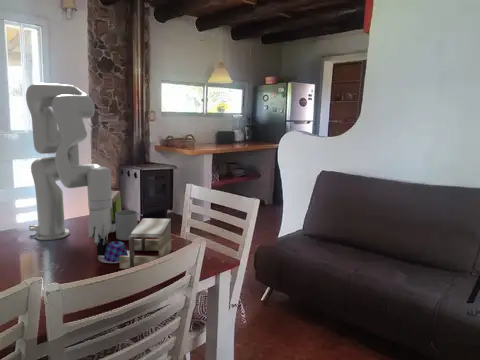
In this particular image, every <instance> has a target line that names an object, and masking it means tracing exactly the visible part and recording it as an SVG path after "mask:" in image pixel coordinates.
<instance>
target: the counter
mask: <svg viewBox="0 0 480 360" xmlns="http://www.w3.org/2000/svg"><path fill="white" fill-rule="evenodd" d="M171 221H172V219H171V218H152V217H151V218H150V217H149V218H146V217H145V218H142V219H141V221H140V222H139V223H138V225H137V227H136V228H135V229H134V230H133V231H132V233H131V236H129V240H128V248H129V250H128V251H129V256H119V269H130V268H131V267H134V266H138V265H141V264H144V263H147V262H150V261H153V260H155V259H158V258H160V257H163V256H165V255H167V254H169V253H171V252H172V226H171V225H172V222H171ZM134 237H137V238H135V239H134ZM147 238H148V239H147ZM149 238H150V239H149ZM151 238H156V239H151ZM135 251H142V252H144V251H152V252H153V251H154V252H155V251H156V252H157V251H158V255H136V254H135ZM169 255H170V254H169Z"/></svg>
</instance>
